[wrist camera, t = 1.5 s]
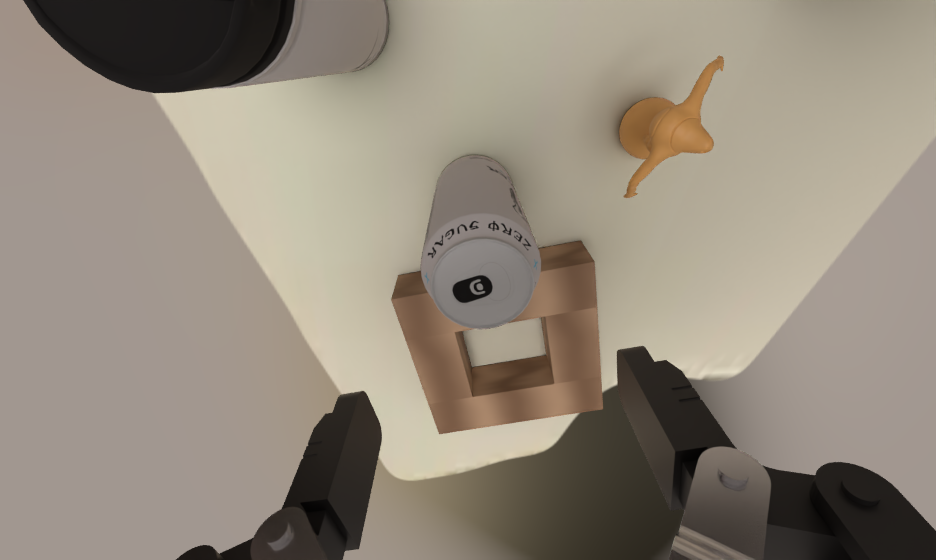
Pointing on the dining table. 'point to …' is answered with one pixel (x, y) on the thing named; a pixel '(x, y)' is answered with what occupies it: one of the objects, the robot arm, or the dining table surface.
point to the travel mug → (215, 39)
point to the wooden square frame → (515, 382)
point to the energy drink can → (479, 246)
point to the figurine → (666, 128)
